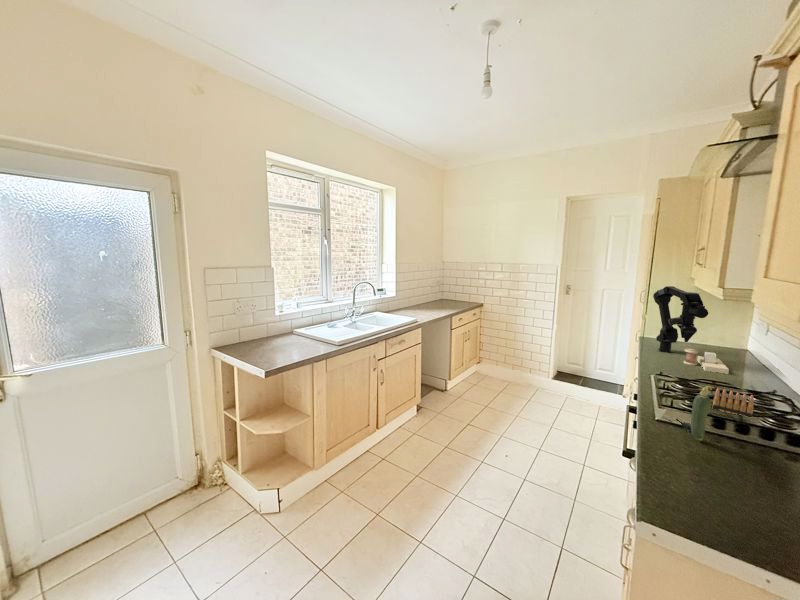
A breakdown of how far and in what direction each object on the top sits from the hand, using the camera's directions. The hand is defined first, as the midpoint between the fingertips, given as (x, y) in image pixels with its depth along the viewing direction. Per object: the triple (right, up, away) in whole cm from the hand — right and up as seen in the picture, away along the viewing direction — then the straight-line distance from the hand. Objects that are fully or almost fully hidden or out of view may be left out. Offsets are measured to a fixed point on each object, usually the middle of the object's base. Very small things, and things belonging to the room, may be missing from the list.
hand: (684, 339), depth 188 cm
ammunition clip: (-42, -23, -67) cm, 82 cm away
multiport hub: (-63, -23, -68) cm, 96 cm away
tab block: (+4, -13, -11) cm, 17 cm away
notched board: (+5, -13, -11) cm, 18 cm away
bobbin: (-2, -13, -6) cm, 14 cm away
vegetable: (-66, -25, -78) cm, 105 cm away
